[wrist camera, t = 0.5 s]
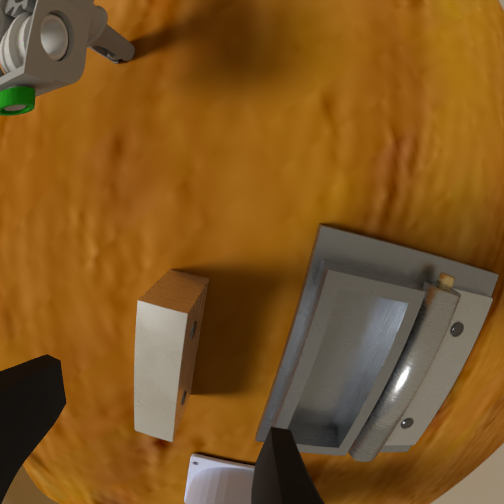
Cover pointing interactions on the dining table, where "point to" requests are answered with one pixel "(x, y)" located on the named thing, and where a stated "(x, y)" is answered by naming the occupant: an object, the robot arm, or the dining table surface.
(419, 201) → the dining table surface
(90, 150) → the dining table surface
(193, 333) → the brushed steel bar
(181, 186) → the dining table surface
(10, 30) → the mechanical component
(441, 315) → the fixed leaf
